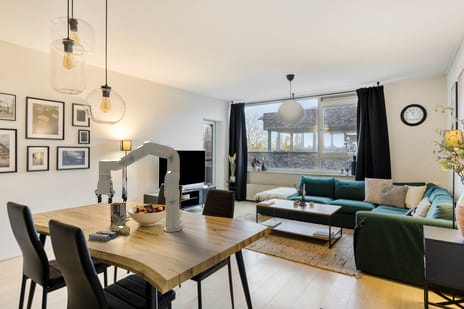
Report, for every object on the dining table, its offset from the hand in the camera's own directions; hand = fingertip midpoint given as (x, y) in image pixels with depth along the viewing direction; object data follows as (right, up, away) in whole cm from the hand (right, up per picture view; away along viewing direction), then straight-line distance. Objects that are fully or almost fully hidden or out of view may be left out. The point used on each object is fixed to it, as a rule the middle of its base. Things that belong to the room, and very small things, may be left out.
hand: (104, 203), depth 177 cm
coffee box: (+1, -20, +19) cm, 27 cm away
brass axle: (+11, -20, -3) cm, 23 cm away
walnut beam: (+12, -20, -3) cm, 23 cm away
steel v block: (+5, -20, -12) cm, 24 cm away
